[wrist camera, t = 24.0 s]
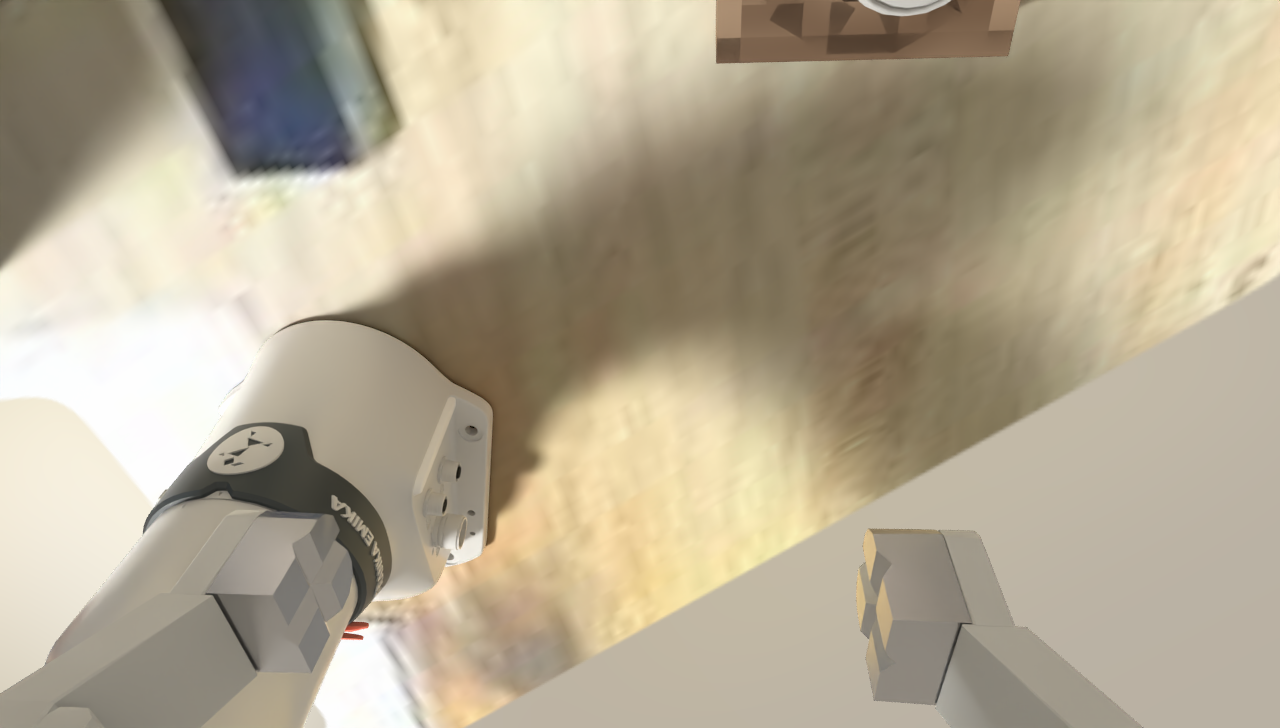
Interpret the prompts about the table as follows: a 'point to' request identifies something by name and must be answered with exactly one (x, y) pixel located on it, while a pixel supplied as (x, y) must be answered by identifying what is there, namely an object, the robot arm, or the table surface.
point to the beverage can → (903, 6)
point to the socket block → (859, 31)
